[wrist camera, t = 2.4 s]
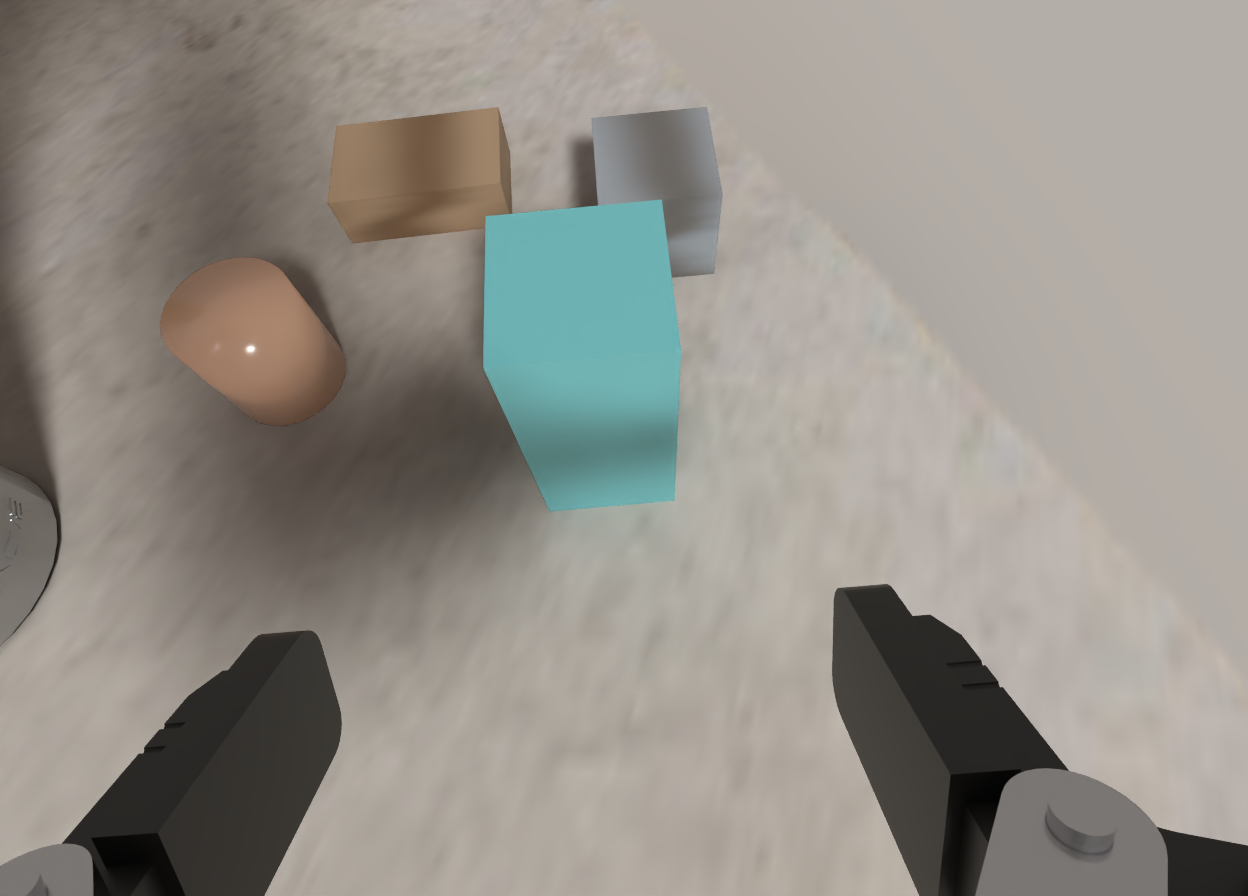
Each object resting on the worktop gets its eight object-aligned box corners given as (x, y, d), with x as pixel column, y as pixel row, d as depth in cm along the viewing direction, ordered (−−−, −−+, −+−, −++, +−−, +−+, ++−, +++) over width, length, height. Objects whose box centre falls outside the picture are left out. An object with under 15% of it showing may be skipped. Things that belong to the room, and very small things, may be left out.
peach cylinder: (226, 430, 29) (148, 372, 25) (243, 334, 31) (173, 263, 27) (341, 420, 29) (284, 359, 25) (350, 323, 31) (299, 251, 27)
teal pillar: (549, 511, 27) (483, 367, 17) (546, 401, 29) (485, 216, 19) (674, 500, 27) (681, 349, 17) (662, 391, 29) (661, 199, 19)
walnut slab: (354, 247, 34) (327, 203, 31) (361, 174, 36) (336, 126, 33) (513, 229, 34) (500, 182, 31) (511, 156, 36) (498, 107, 33)
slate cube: (607, 284, 32) (598, 205, 27) (601, 204, 34) (591, 118, 29) (714, 274, 32) (722, 193, 27) (701, 194, 34) (707, 106, 29)
